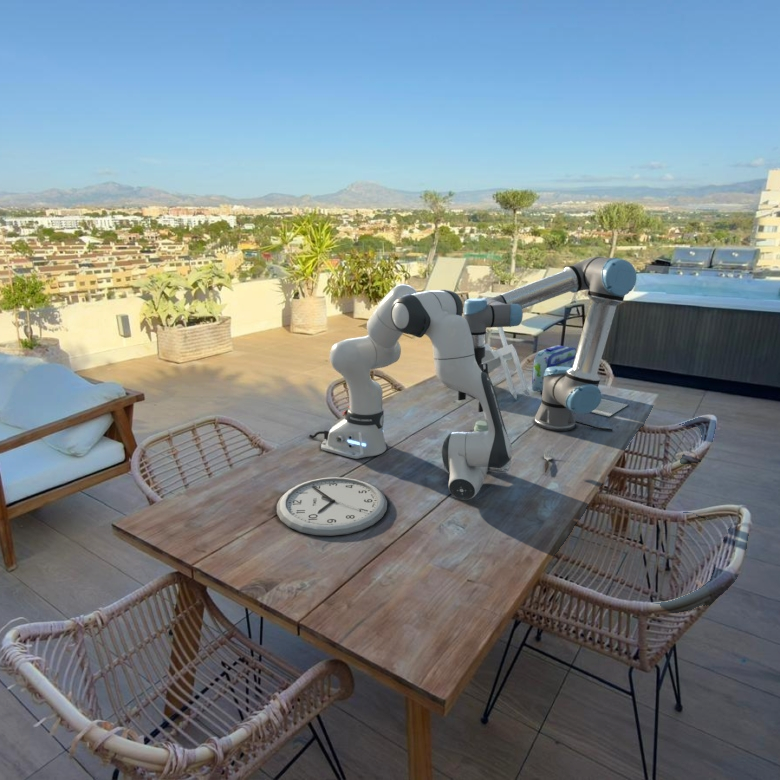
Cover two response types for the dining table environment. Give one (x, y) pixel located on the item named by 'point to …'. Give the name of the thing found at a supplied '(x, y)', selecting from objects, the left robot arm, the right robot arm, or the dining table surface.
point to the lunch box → (550, 363)
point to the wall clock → (331, 506)
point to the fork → (547, 459)
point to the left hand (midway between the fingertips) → (481, 448)
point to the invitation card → (608, 407)
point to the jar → (480, 426)
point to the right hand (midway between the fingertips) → (471, 405)
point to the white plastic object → (505, 362)
